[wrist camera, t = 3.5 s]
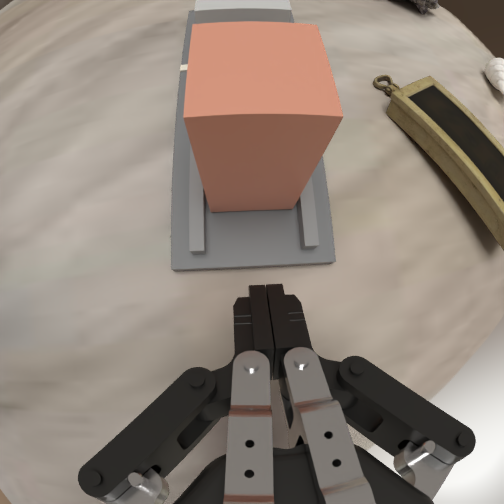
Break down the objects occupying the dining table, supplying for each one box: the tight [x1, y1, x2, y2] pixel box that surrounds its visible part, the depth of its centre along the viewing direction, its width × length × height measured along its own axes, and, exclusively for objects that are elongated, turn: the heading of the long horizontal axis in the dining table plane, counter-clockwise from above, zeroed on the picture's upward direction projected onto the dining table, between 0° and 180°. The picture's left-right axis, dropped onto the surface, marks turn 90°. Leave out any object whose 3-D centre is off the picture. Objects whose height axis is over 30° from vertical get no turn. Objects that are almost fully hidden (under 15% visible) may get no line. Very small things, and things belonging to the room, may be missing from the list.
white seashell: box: [485, 58, 504, 94], centre depth 26 cm, size 6×6×6 cm
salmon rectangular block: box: [183, 21, 343, 212], centre depth 17 cm, size 6×6×12 cm
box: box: [373, 75, 504, 250], centre depth 24 cm, size 8×22×5 cm, turn 36°
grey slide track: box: [171, 0, 336, 271], centre depth 22 cm, size 30×12×6 cm, turn 3°
